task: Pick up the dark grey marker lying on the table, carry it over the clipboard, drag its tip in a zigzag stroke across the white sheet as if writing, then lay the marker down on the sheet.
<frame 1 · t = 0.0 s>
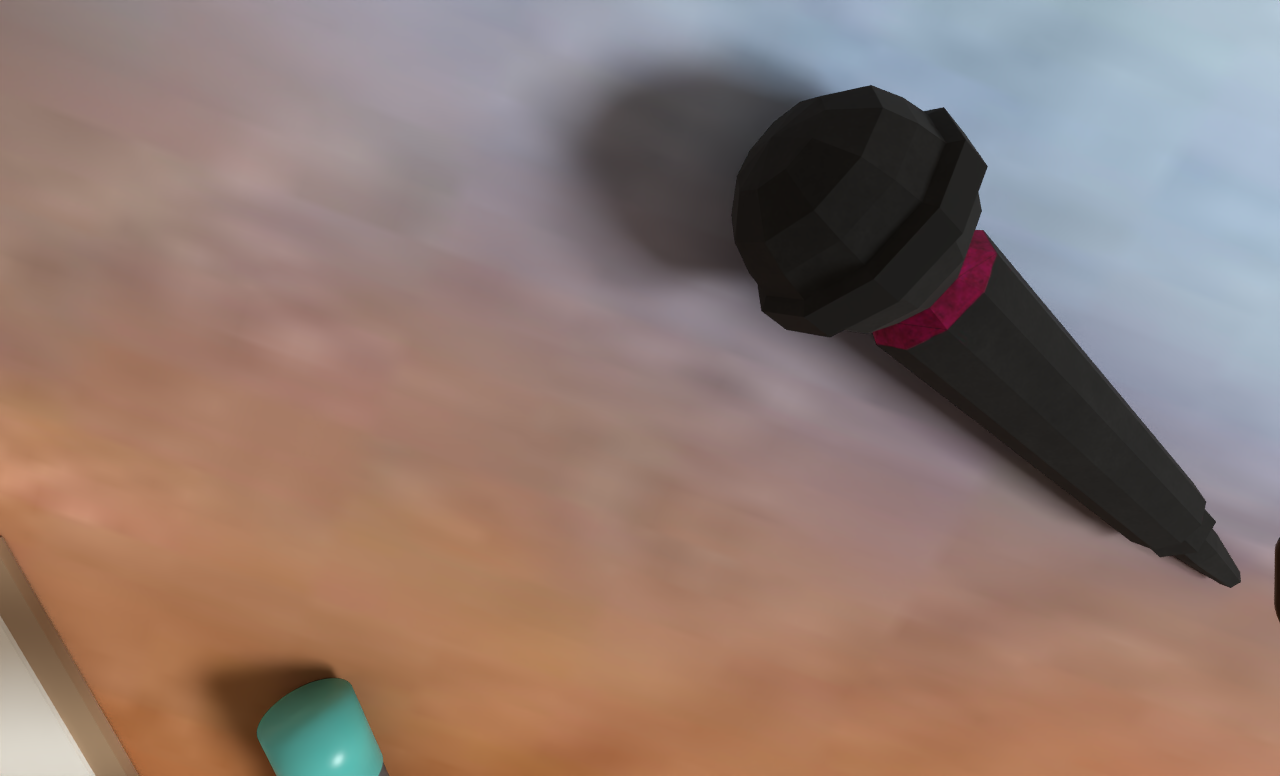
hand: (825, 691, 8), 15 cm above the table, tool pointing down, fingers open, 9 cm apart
microphone: (977, 382, 24), on the table
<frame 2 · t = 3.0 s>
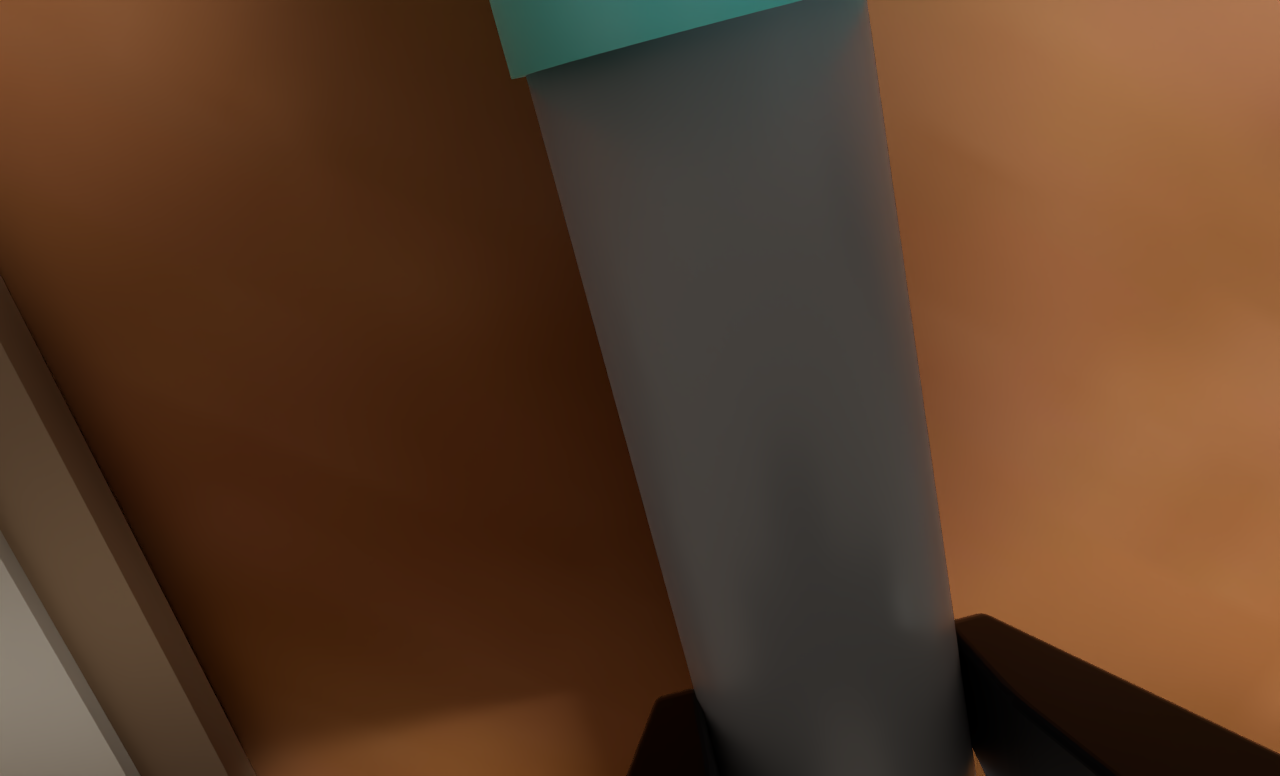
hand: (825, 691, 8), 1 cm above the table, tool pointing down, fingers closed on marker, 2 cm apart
marker: (797, 627, 9), on the table, touching gripper
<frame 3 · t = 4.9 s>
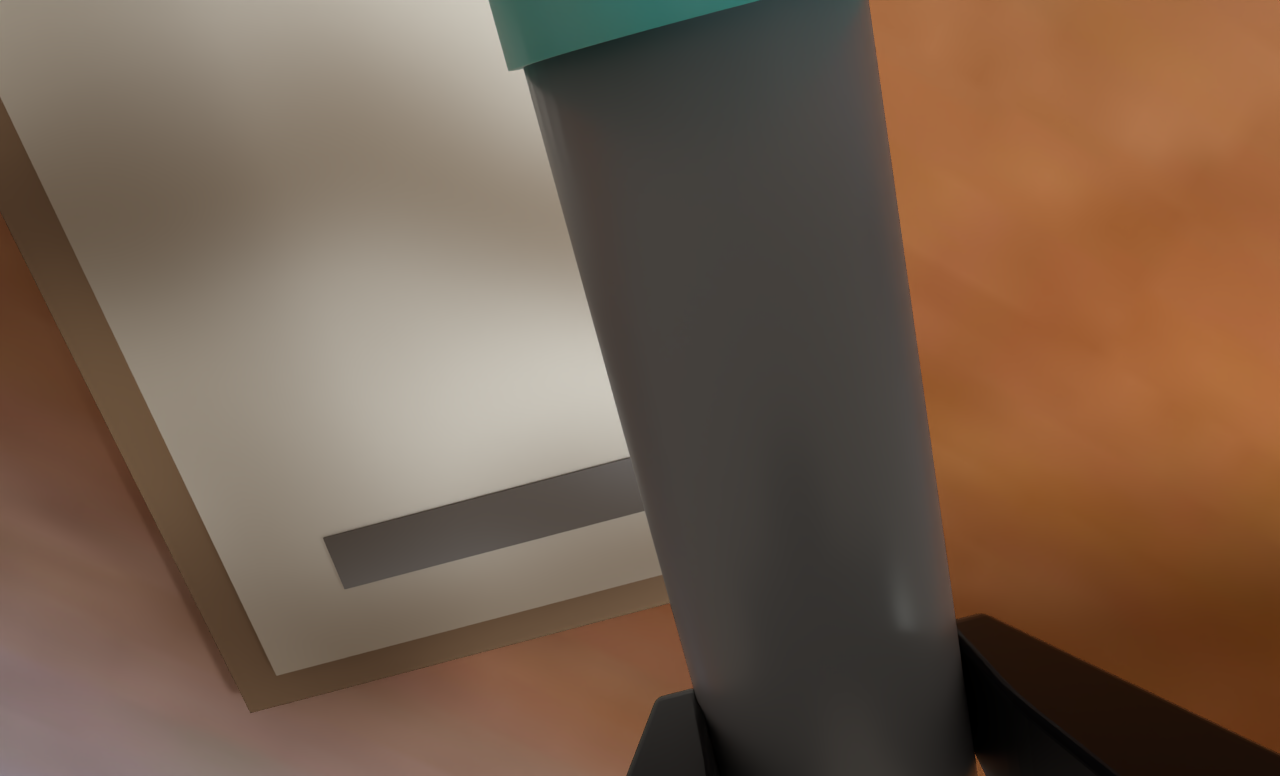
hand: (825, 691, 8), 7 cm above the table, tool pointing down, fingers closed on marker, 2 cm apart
clipboard: (438, 176, 13), on the table
marker: (797, 625, 9), point 6 cm above the table, touching gripper
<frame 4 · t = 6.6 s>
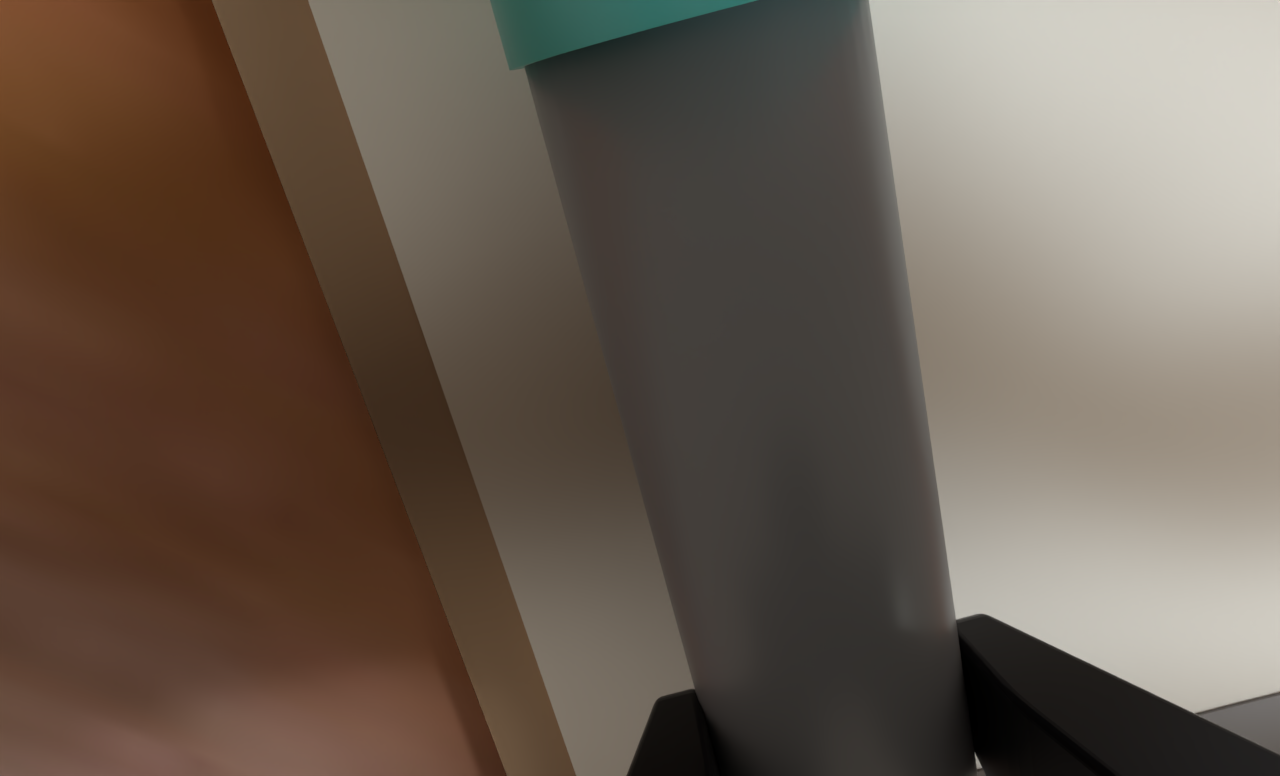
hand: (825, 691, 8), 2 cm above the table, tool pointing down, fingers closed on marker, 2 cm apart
clipboard: (959, 355, 9), on the table
marker: (798, 624, 9), point 1 cm above the table, touching gripper
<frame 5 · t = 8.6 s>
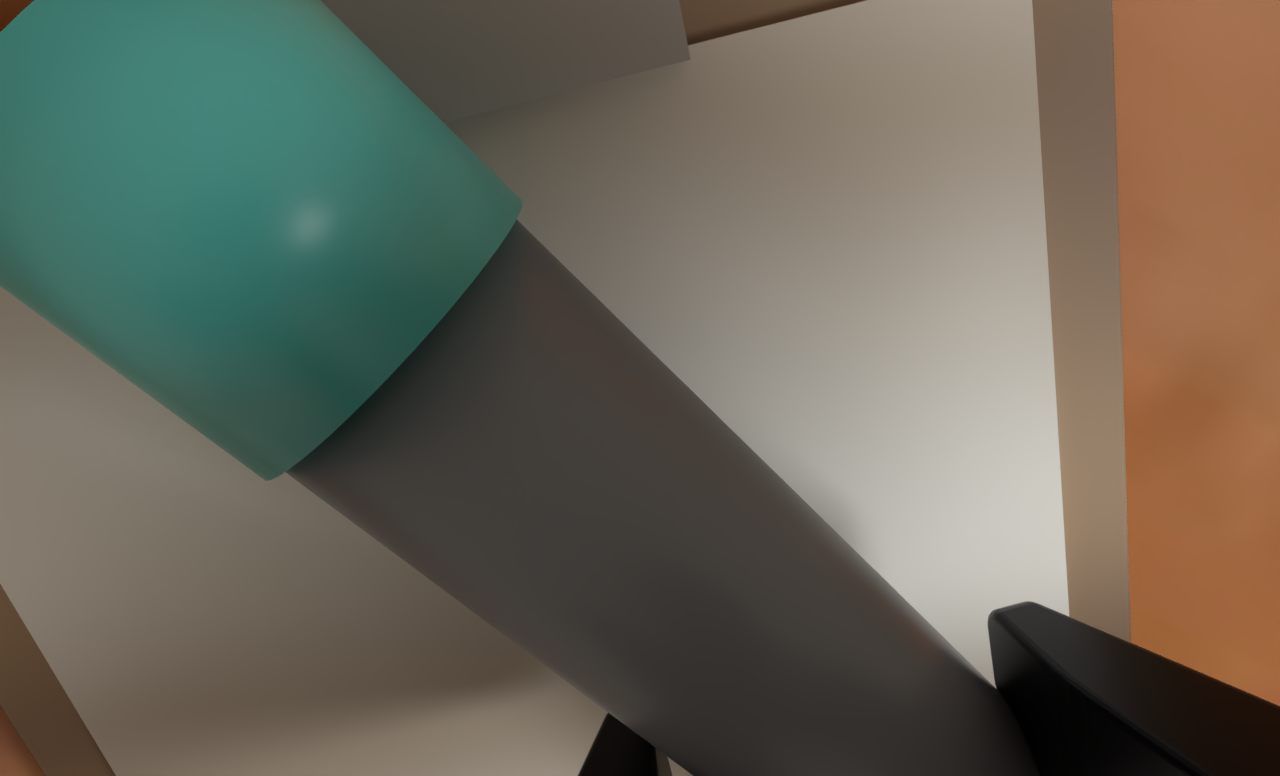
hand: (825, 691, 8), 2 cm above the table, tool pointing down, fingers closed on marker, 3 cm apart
clipboard: (613, 693, 10), on the table
marker: (812, 694, 9), point 1 cm above the table, tilted 20°, touching gripper
when the fingers open (2 cm above the table, at t = 10.1 s): marker stays where it is, resting on clipboard.
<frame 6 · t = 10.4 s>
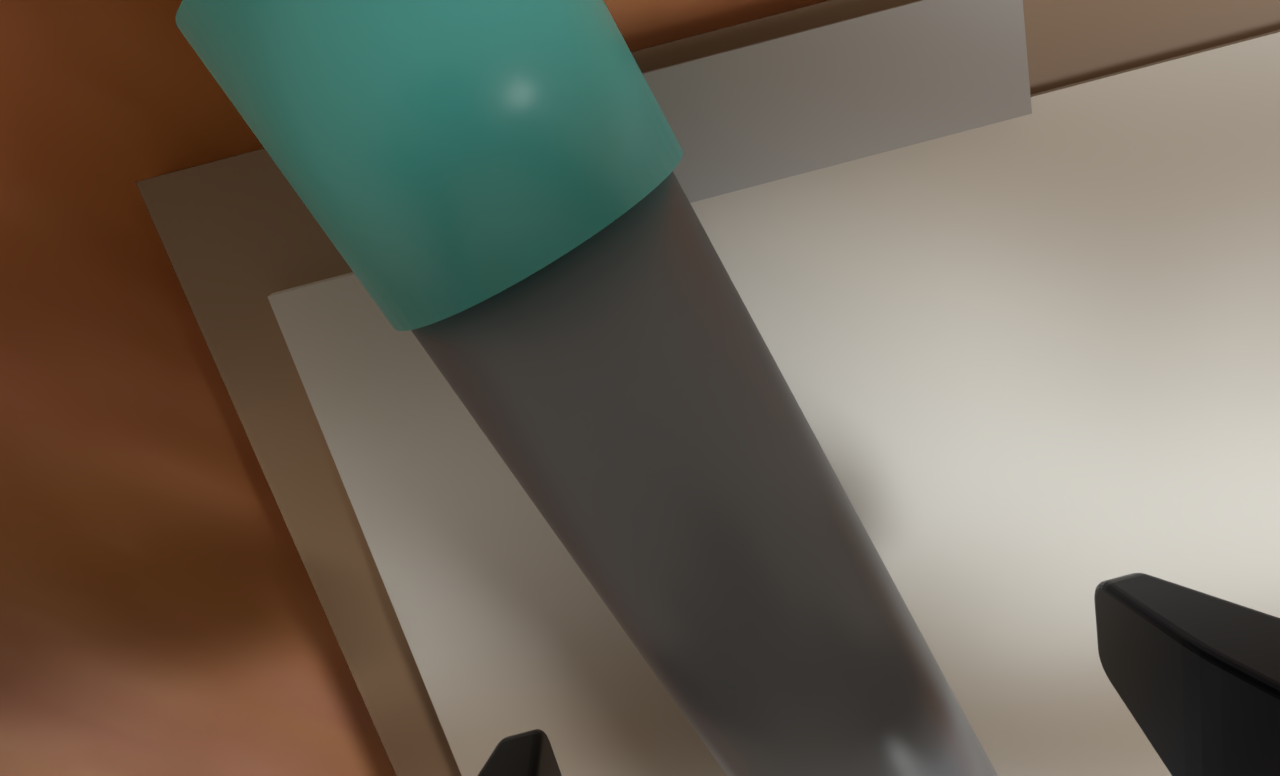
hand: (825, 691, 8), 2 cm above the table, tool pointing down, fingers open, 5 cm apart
clipboard: (873, 677, 11), on the table
marker: (781, 678, 10), point 1 cm above the table, tilted 19°, touching clipboard
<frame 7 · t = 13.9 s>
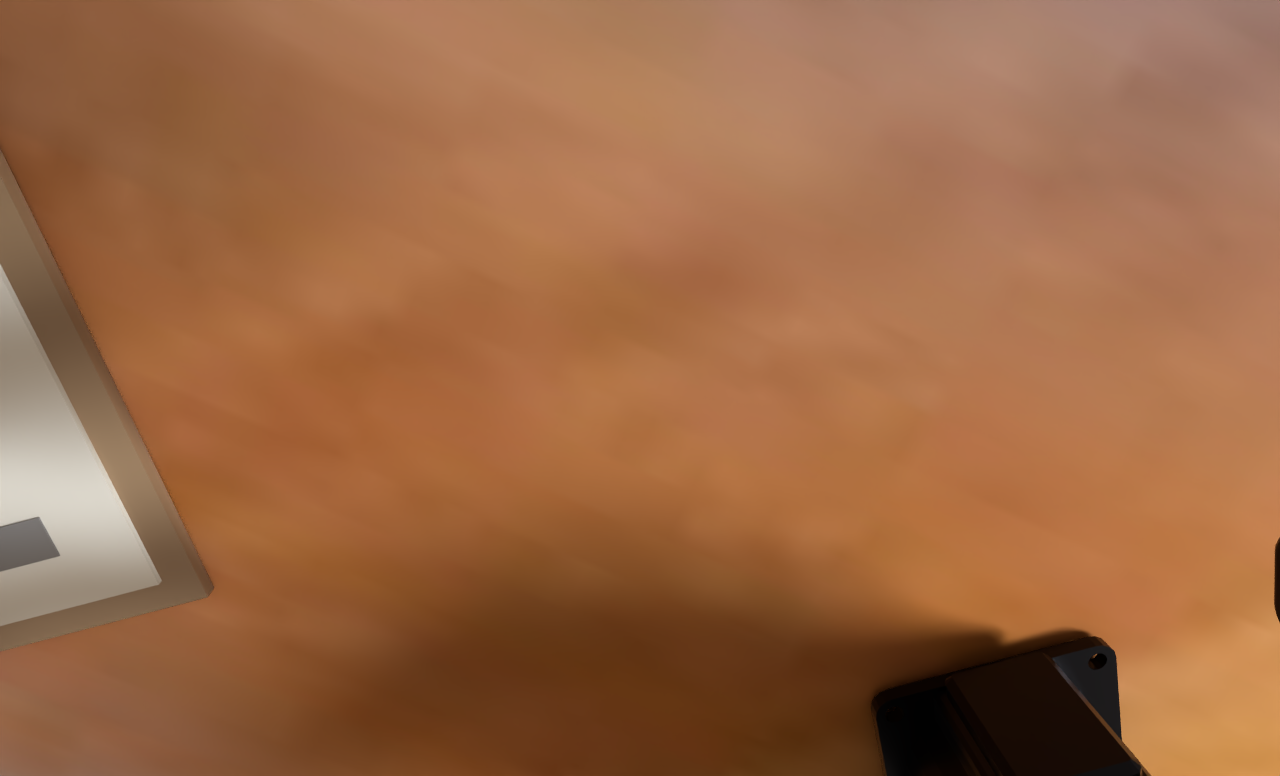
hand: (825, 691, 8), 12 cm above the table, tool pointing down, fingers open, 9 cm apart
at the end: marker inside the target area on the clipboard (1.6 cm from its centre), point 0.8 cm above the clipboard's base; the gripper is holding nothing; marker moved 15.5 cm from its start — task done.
